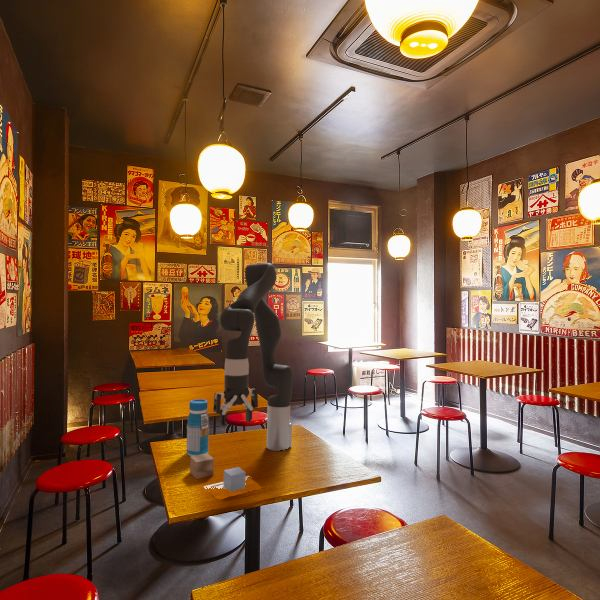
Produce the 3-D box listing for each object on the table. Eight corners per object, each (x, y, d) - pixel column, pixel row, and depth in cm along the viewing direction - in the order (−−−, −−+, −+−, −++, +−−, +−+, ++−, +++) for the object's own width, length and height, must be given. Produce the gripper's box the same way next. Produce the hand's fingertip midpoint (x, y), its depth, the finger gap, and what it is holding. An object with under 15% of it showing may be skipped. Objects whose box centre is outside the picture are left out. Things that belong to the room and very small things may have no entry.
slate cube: (237, 482, 137) (238, 467, 137) (245, 488, 133) (245, 472, 133) (223, 486, 134) (223, 470, 134) (230, 492, 130) (230, 475, 130)
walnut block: (206, 470, 148) (207, 453, 148) (213, 476, 143) (213, 458, 143) (189, 473, 144) (190, 456, 144) (196, 480, 139) (196, 462, 139)
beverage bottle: (185, 457, 158) (186, 404, 158) (186, 449, 167) (187, 398, 167) (208, 456, 160) (210, 403, 160) (208, 448, 169) (209, 398, 168)
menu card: (248, 476, 143) (248, 475, 143) (264, 489, 134) (264, 487, 134) (203, 487, 134) (203, 486, 134) (216, 502, 125) (217, 500, 125)
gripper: (251, 368, 141) (250, 417, 141) (210, 372, 133) (209, 424, 133) (262, 372, 134) (261, 423, 135) (220, 376, 126) (219, 431, 127)
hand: (235, 423), depth 134 cm, fingers open, 8 cm apart
